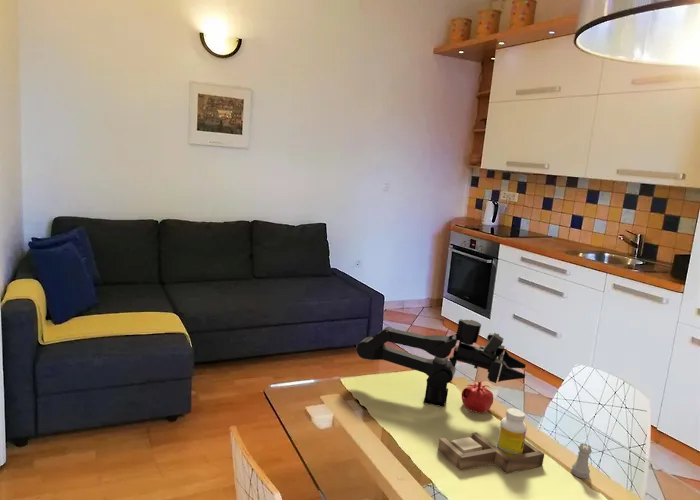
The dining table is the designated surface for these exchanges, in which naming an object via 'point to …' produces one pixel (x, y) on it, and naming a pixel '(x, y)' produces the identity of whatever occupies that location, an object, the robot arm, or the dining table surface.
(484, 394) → the pomegranate
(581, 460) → the rook chess piece
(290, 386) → the dining table surface
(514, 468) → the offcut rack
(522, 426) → the supplement bottle
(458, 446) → the offcut stack
